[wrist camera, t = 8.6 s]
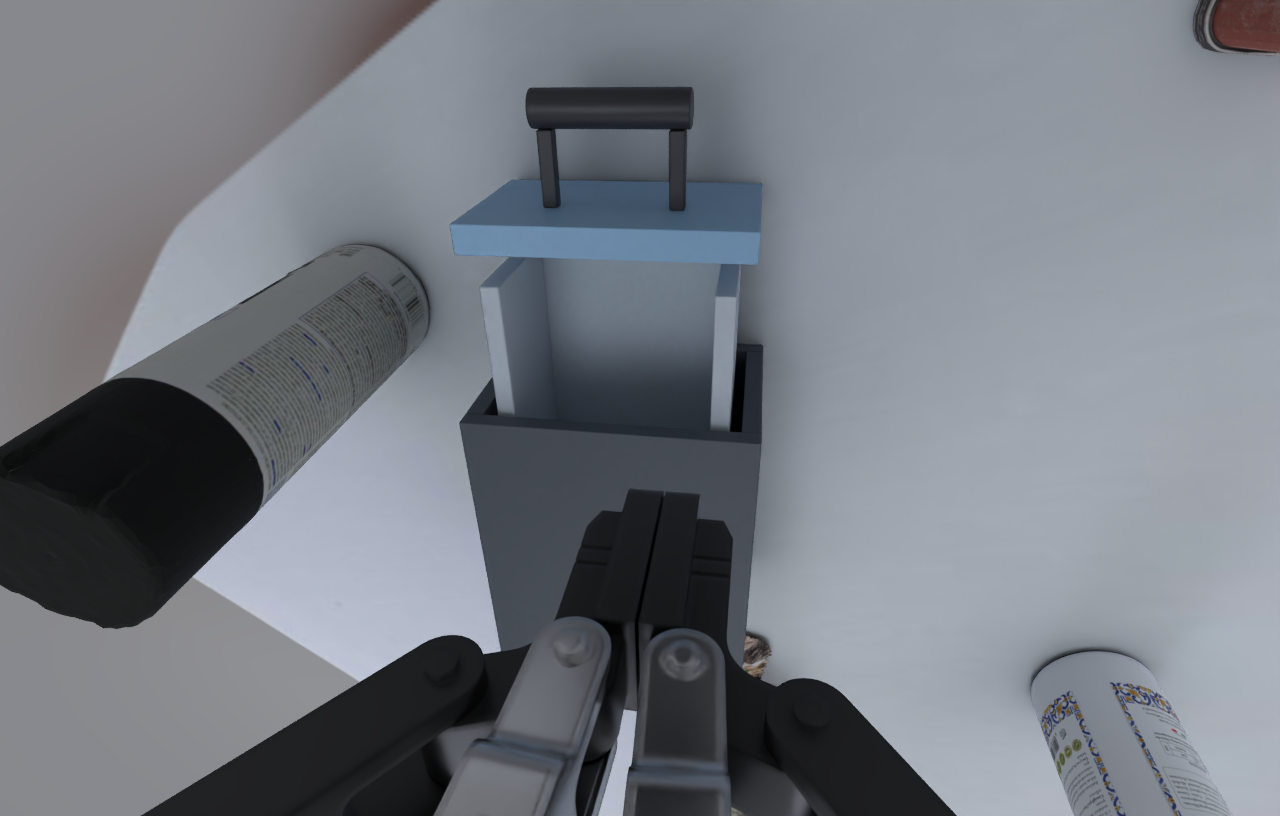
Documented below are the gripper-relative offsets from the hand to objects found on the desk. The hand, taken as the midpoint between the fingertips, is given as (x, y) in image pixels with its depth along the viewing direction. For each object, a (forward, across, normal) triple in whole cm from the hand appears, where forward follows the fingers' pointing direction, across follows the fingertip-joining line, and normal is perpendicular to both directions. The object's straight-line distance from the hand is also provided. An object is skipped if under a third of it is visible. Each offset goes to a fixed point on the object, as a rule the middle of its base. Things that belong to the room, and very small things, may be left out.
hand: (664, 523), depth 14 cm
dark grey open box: (+21, +4, +13) cm, 25 cm away
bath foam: (+21, -24, +28) cm, 43 cm away
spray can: (+21, +18, +4) cm, 28 cm away
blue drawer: (+20, +4, +2) cm, 21 cm away
